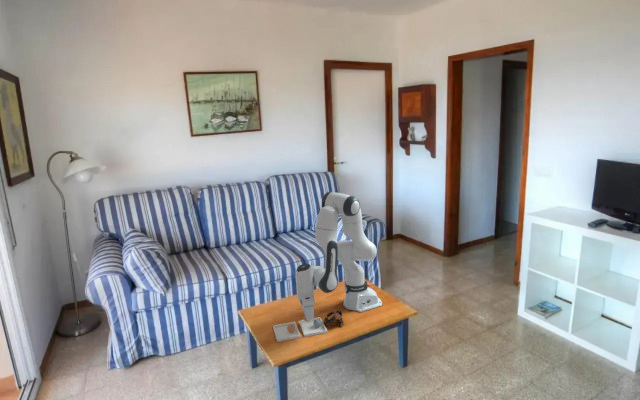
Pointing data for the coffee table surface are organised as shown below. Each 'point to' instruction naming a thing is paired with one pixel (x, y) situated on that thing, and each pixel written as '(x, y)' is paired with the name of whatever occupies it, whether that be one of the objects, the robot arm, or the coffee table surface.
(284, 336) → the dish
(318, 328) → the dish
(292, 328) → the terracotta ball
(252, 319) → the coffee table surface
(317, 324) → the ball grey
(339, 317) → the pottery mug
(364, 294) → the robot arm
